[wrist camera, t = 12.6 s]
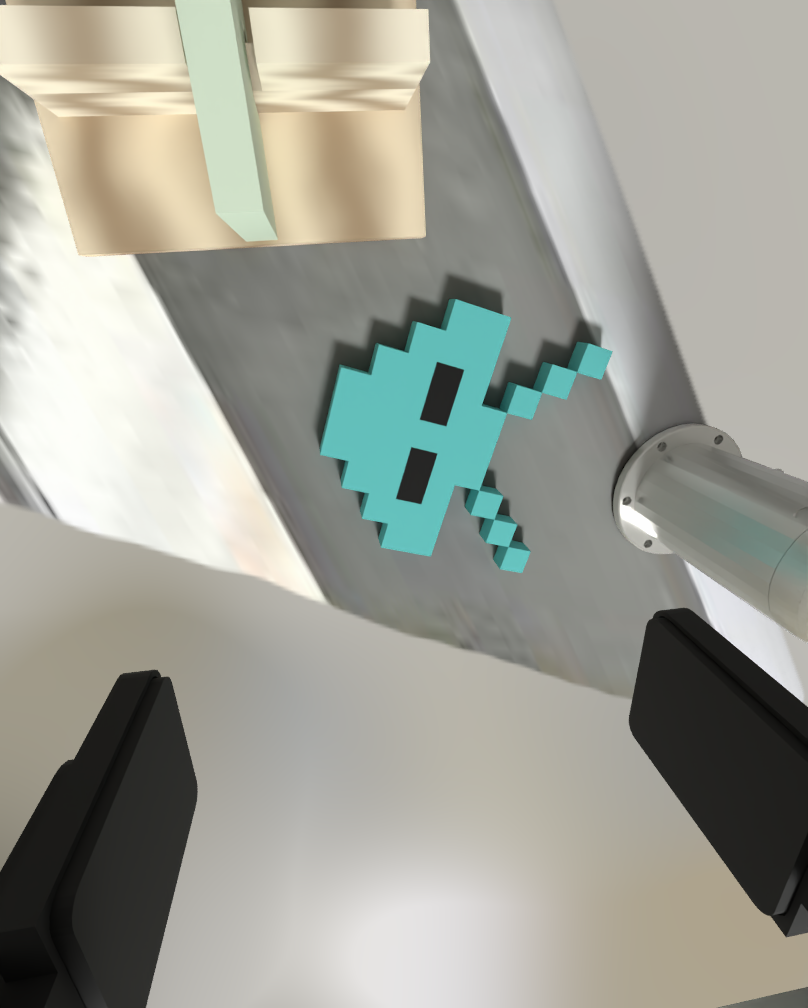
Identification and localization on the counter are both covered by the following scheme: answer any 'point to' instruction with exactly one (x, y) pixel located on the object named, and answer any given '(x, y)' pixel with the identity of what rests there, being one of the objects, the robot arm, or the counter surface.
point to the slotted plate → (227, 115)
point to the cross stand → (175, 130)
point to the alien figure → (436, 427)
